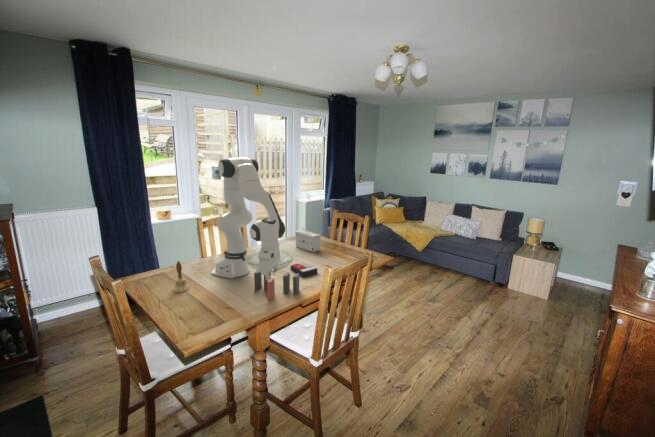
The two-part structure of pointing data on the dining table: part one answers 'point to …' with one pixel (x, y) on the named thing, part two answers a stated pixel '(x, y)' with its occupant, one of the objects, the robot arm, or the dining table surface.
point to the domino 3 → (270, 289)
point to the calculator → (304, 269)
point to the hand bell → (180, 280)
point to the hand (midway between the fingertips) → (271, 275)
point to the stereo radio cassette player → (308, 240)
